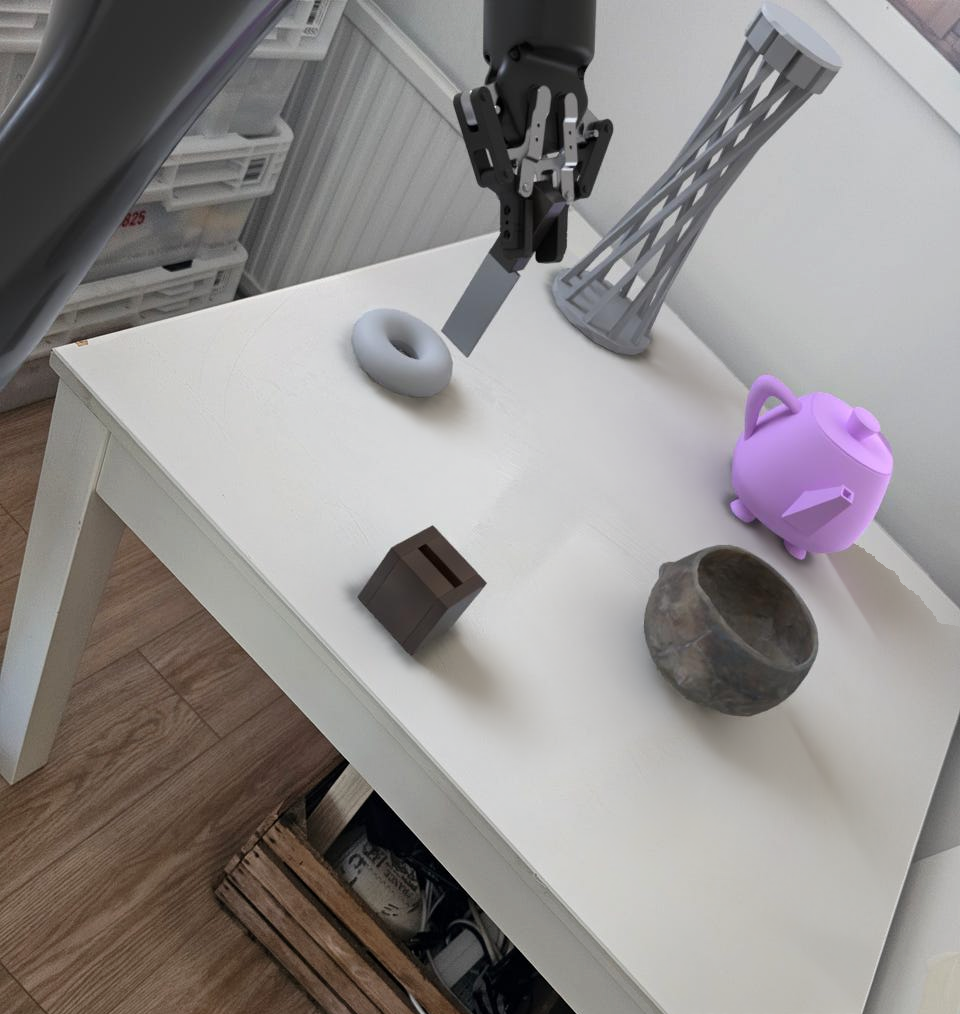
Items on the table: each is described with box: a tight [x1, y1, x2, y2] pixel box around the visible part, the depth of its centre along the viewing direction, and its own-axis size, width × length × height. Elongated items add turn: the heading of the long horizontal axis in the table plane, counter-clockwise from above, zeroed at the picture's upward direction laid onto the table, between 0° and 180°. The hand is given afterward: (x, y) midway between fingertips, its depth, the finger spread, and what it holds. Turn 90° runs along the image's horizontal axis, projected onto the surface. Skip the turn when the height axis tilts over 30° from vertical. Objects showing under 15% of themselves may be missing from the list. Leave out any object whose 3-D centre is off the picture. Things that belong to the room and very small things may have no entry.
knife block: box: [357, 524, 488, 656], centre depth 77 cm, size 6×5×6 cm
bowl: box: [643, 544, 819, 718], centre depth 89 cm, size 14×15×10 cm
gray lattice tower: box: [551, 0, 844, 356], centre depth 112 cm, size 14×13×35 cm
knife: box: [440, 180, 567, 358], centre depth 76 cm, size 3×2×14 cm, turn 50°
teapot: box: [730, 374, 894, 560], centre depth 109 cm, size 20×20×15 cm
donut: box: [350, 307, 454, 398], centre depth 95 cm, size 10×4×10 cm
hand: (533, 259), depth 73 cm, fingers closed on knife, 2 cm apart
